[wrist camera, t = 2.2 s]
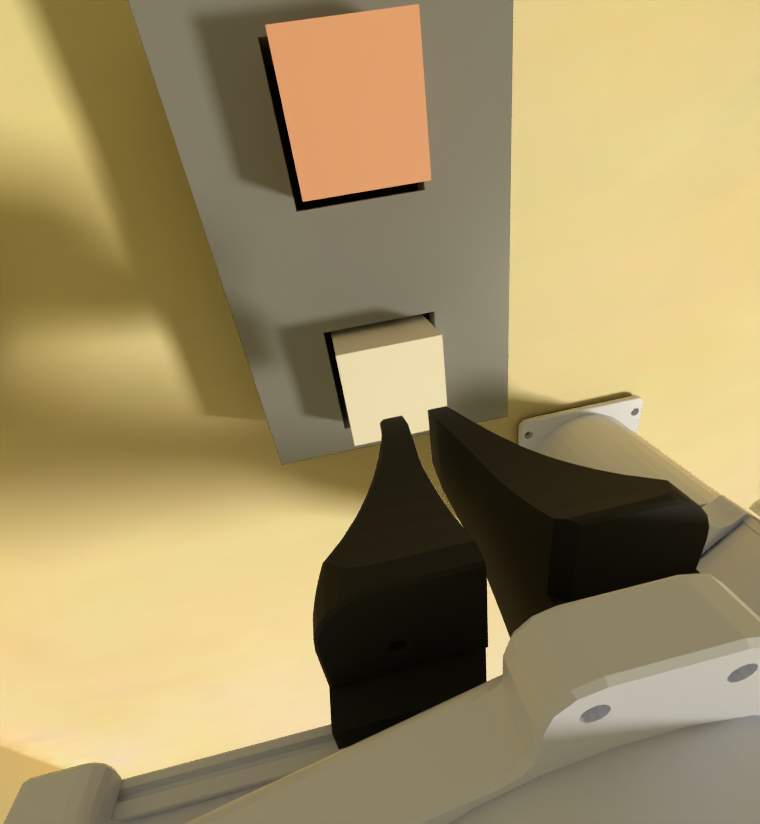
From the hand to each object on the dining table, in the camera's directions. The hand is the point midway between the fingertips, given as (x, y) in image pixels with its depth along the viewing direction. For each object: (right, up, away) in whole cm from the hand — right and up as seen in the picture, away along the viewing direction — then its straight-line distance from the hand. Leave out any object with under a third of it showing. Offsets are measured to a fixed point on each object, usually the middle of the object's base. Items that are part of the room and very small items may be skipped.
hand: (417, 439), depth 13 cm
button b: (-2, +11, +2) cm, 11 cm away
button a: (-1, +3, +6) cm, 7 cm away
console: (-2, +8, +6) cm, 10 cm away
